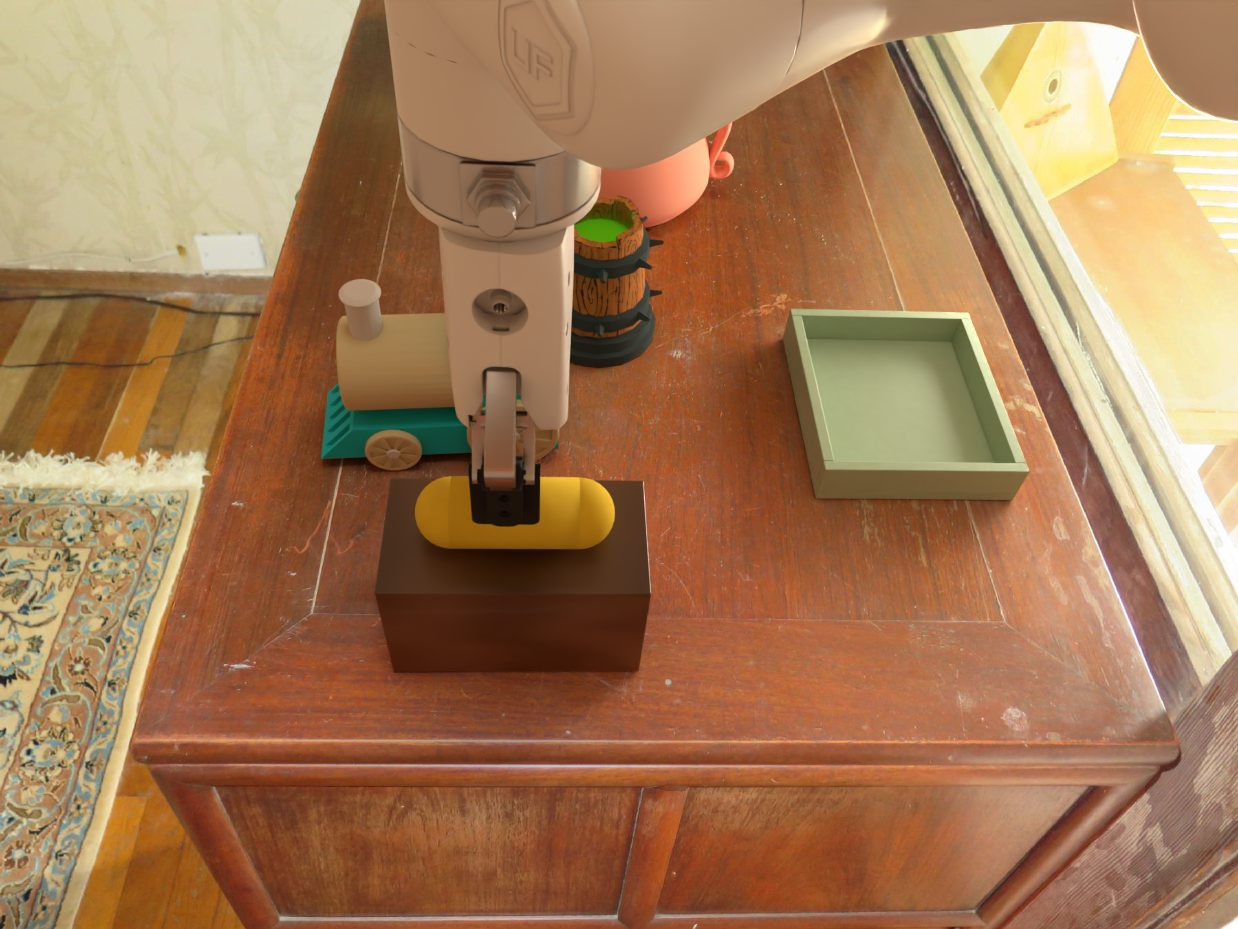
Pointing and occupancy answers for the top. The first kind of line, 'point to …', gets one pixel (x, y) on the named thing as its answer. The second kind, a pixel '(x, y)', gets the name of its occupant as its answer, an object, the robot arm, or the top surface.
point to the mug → (611, 285)
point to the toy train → (397, 388)
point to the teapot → (670, 179)
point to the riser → (514, 596)
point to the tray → (900, 407)
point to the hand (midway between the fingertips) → (509, 442)
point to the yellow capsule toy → (566, 522)
